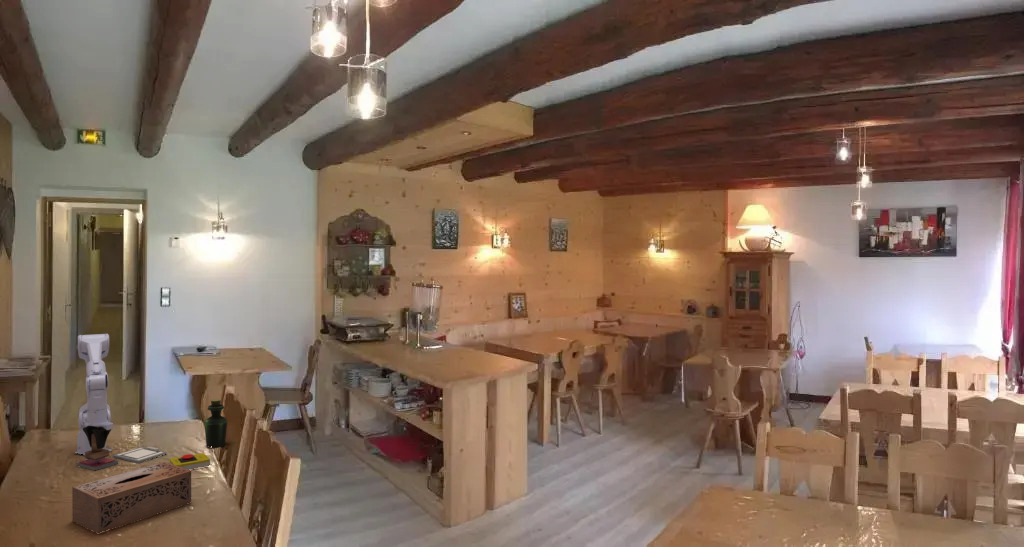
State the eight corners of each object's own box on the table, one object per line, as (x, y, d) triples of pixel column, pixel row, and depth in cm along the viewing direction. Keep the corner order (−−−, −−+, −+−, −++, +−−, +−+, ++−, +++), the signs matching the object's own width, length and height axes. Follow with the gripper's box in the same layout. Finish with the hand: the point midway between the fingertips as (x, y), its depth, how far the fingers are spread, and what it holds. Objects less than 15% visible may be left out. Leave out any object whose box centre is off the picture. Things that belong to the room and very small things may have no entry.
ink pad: (76, 466, 218) (76, 462, 218) (99, 459, 226) (99, 455, 226) (94, 470, 214) (94, 466, 214) (117, 463, 222) (117, 459, 222)
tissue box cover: (164, 493, 197) (164, 461, 197) (191, 503, 189) (191, 470, 189) (72, 522, 175) (72, 486, 175) (98, 535, 168) (97, 498, 167)
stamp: (84, 458, 218) (84, 435, 218) (98, 454, 223) (98, 431, 223) (95, 460, 217) (95, 436, 216) (108, 456, 221) (108, 432, 221)
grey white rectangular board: (112, 457, 228) (112, 453, 228) (141, 449, 238) (141, 444, 238) (138, 463, 222) (138, 459, 222) (166, 454, 232) (166, 450, 232)
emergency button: (164, 455, 219) (210, 448, 229) (164, 468, 220) (210, 460, 229) (169, 463, 212) (217, 454, 222) (169, 476, 212) (217, 467, 222)
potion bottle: (202, 449, 239) (202, 402, 238) (206, 443, 247) (206, 397, 246) (225, 448, 241) (225, 401, 240) (228, 442, 249) (229, 397, 248)
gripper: (72, 408, 219) (72, 447, 219) (99, 413, 213) (99, 453, 213) (92, 404, 225) (92, 442, 226) (119, 409, 219) (119, 447, 220)
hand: (97, 447), depth 220 cm, fingers closed on stamp, 3 cm apart
